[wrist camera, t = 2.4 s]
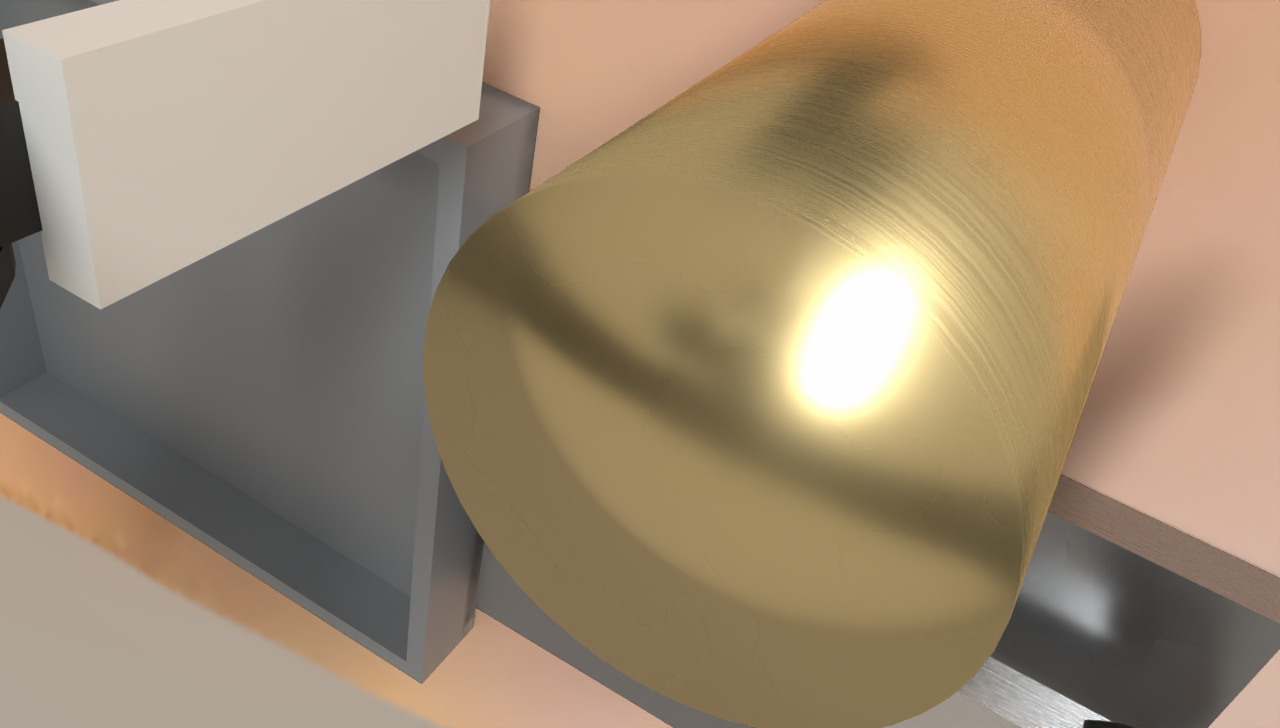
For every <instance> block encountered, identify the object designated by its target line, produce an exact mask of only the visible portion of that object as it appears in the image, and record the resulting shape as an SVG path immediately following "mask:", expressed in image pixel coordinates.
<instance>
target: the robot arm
mask: <svg viewBox="0 0 1280 728" xmlns="http://www.w3.org/2000/svg"><path fill="white" fill-rule="evenodd" d="M489 8H490V0H118V1H114V2H110V3H106V4H102V5H99V6H95V7H91V8H87V9H83V10H79V11H75V12H71V13H67V14H63V15H59V16H55V17H52V18H48V19H44V20H40V21H36V22H32V23H28V24H24V25H20V26H16V27H12V28H8V29H5V30H2V33H3V38H2V39H0V309H1V307H2V304H3V302H4V300H5V298H6V295H7V293H8V291H9V289H10V286H11V284H12V282H13V280H14V277H15V270H16V261H15V256H14V251H13V247H12V243H13V242H15V241H18V240H20V239H23V238H25V237H27V236H30V235H32V234H35V233H37V232H39V231H40V233H41V238H42V244H43V249H44V254H45V259H46V265H47V270H48V275H49V280H51V281H52V282H54V283H56V284H57V285H59V286H61V287H63V288H64V289H66V290H68V291H69V292H71V293H73V294H75V295H76V296H78V297H80V298H82V299H83V300H85V301H87V302H88V303H90V304H92V305H94V306H95V307H97V308H99V309H100V310H101V309H103V308H105V307H107V306H109V305H111V304H113V303H115V302H117V301H119V300H121V299H123V298H125V297H127V296H129V295H131V294H133V293H135V292H137V291H139V290H140V289H142V288H144V287H146V286H148V285H150V284H152V283H154V282H156V281H158V280H160V279H162V278H164V277H166V276H168V275H170V274H172V273H174V272H176V271H178V270H180V269H182V268H184V267H186V266H188V265H190V264H192V263H194V262H196V261H198V260H200V259H202V258H204V257H206V256H208V255H210V254H212V253H214V252H216V251H218V250H220V249H222V248H224V247H226V246H228V245H230V244H232V243H234V242H236V241H238V240H240V239H242V238H244V237H246V236H248V235H250V234H252V233H254V232H256V231H258V230H260V229H262V228H264V227H266V226H268V225H270V224H272V223H274V222H276V221H278V220H280V219H282V218H284V217H286V216H288V215H290V214H292V213H294V212H296V211H297V210H299V209H301V208H303V207H305V206H307V205H309V204H311V203H313V202H315V201H317V200H319V199H321V198H323V197H325V196H327V195H329V194H331V193H333V192H335V191H337V190H339V189H341V188H343V187H345V186H347V185H349V184H351V183H353V182H355V181H357V180H359V179H361V178H363V177H365V176H367V175H369V174H371V173H373V172H375V171H377V170H379V169H381V168H383V167H385V166H387V165H389V164H391V163H393V162H395V161H397V160H399V159H401V158H403V157H405V156H407V155H409V154H411V153H413V152H415V151H417V150H419V149H421V148H423V147H425V146H427V145H429V144H431V143H433V142H435V141H437V140H439V139H441V138H443V137H445V136H447V135H449V134H451V133H453V132H455V131H456V130H458V129H460V128H462V127H464V126H466V125H468V124H470V123H472V122H474V121H476V120H478V119H479V109H480V99H481V89H482V79H483V69H484V58H485V48H486V38H487V28H488V18H489Z"/></svg>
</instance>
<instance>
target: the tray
mask: <svg viewBox="0 0 1280 728" xmlns="http://www.w3.org/2000/svg"><path fill="white" fill-rule="evenodd" d="M114 1H118V0H0V39H2V38H3V33H2V30H5V29H8V28H12V27H16V26H20V25H24V24H28V23H32V22H36V21H40V20H44V19H48V18H52V17H55V16H59V15H63V14H67V13H71V12H75V11H79V10H83V9H87V8H91V7H95V6H99V5H102V4H106V3H110V2H114ZM539 111H540V107H538V106H535V105H533V104H531V103H528V102H526V101H524V100H521V99H519V98H517V97H514V96H512V95H510V94H507V93H505V92H503V91H501V90H498V89H496V88H494V87H491V86H489V85H487V84H484V83H482V89H481V99H480V109H479V119H478V120H476V121H474V122H472V123H470V124H468V125H466V126H464V127H462V128H460V129H458V130H456V131H455V132H453V133H451V134H449V135H447V136H445V137H443V138H441V139H439V140H437V141H435V142H433V143H431V144H429V145H427V146H425V147H423V148H421V149H419V150H417V151H415V152H413V153H411V154H409V155H407V156H405V157H403V158H401V159H399V160H397V161H395V162H393V163H391V164H389V165H387V166H385V167H383V168H381V169H379V170H377V171H375V172H373V173H371V174H369V175H367V176H365V177H363V178H361V179H359V180H357V181H355V182H353V183H351V184H349V185H347V186H345V187H343V188H341V189H339V190H337V191H335V192H333V193H331V194H329V195H327V196H325V197H323V198H321V199H319V200H317V201H315V202H313V203H311V204H309V205H307V206H305V207H303V208H301V209H299V210H297V211H296V212H294V213H292V214H290V215H288V216H286V217H284V218H282V219H280V220H278V221H276V222H274V223H272V224H270V225H268V226H266V227H264V228H262V229H260V230H258V231H256V232H254V233H252V234H250V235H248V236H246V237H244V238H242V239H240V240H238V241H236V242H234V243H232V244H230V245H228V246H226V247H224V248H222V249H220V250H218V251H216V252H214V253H212V254H210V255H208V256H206V257H204V258H202V259H200V260H198V261H196V262H194V263H192V264H190V265H188V266H186V267H184V268H182V269H180V270H178V271H176V272H174V273H172V274H170V275H168V276H166V277H164V278H162V279H160V280H158V281H156V282H154V283H152V284H150V285H148V286H146V287H144V288H142V289H140V290H139V291H137V292H135V293H133V294H131V295H129V296H127V297H125V298H123V299H121V300H119V301H117V302H115V303H113V304H111V305H109V306H107V307H105V308H103V309H101V310H100V309H99V308H97V307H95V306H94V305H92V304H90V303H88V302H87V301H85V300H83V299H82V298H80V297H78V296H76V295H75V294H73V293H71V292H69V291H68V290H66V289H64V288H63V287H61V286H59V285H57V284H56V283H54V282H52V281H51V280H49V275H48V270H47V265H46V259H45V254H44V249H43V244H42V238H41V233H40V231H39V232H37V233H35V234H32V235H30V236H27V237H25V238H23V239H20V240H18V241H15V242H13V243H12V247H13V251H14V256H15V261H16V270H15V277H14V280H13V282H12V284H11V286H10V289H9V291H8V293H7V295H6V298H5V300H4V302H3V304H2V307H1V309H0V413H2V414H3V415H5V416H6V417H8V418H9V419H11V420H13V421H14V422H16V423H17V424H19V425H20V426H22V427H23V428H25V429H26V430H28V431H30V432H31V433H33V434H34V435H36V436H37V437H39V438H40V439H42V440H44V441H45V442H47V443H48V444H50V445H51V446H53V447H54V448H56V449H58V450H59V451H61V452H62V453H64V454H65V455H67V456H68V457H70V458H72V459H73V460H75V461H76V462H78V463H79V464H81V465H82V466H84V467H85V468H87V469H89V470H90V471H92V472H93V473H95V474H96V475H98V476H99V477H101V478H103V479H104V480H106V481H107V482H109V483H110V484H112V485H113V486H115V487H117V488H118V489H120V490H121V491H123V492H124V493H126V494H127V495H129V496H131V497H132V498H134V499H135V500H137V501H138V502H140V503H141V504H143V505H144V506H146V507H148V508H149V509H151V510H152V511H154V512H155V513H157V514H158V515H160V516H162V517H163V518H165V519H166V520H168V521H169V522H171V523H172V524H174V525H176V526H177V527H179V528H180V529H182V530H183V531H185V532H186V533H188V534H190V535H191V536H193V537H194V538H196V539H197V540H199V541H200V542H202V543H204V544H205V545H207V546H208V547H210V548H211V549H213V550H214V551H216V552H217V553H219V554H221V555H222V556H224V557H225V558H227V559H228V560H230V561H231V562H233V563H235V564H236V565H238V566H239V567H241V568H242V569H244V570H245V571H247V572H249V573H250V574H252V575H253V576H255V577H256V578H258V579H259V580H261V581H263V582H264V583H266V584H267V585H269V586H270V587H272V588H273V589H275V590H276V591H278V592H280V593H281V594H283V595H284V596H286V597H287V598H289V599H290V600H292V601H294V602H295V603H297V604H298V605H300V606H301V607H303V608H304V609H306V610H308V611H309V612H311V613H312V614H314V615H315V616H317V617H318V618H320V619H322V620H323V621H325V622H326V623H328V624H329V625H331V626H332V627H334V628H335V629H337V630H339V631H340V632H342V633H343V634H345V635H346V636H348V637H349V638H351V639H353V640H354V641H356V642H357V643H359V644H360V645H362V646H363V647H365V648H367V649H368V650H370V651H371V652H373V653H374V654H376V655H377V656H379V657H381V658H382V659H384V660H385V661H387V662H388V663H390V664H391V665H393V666H394V667H396V668H398V669H399V670H401V671H402V672H404V673H405V674H407V675H408V676H410V677H412V678H413V679H415V680H416V681H418V682H419V683H421V684H422V683H423V682H424V681H425V680H426V679H427V678H428V677H429V676H430V674H431V673H432V672H433V671H434V670H435V669H436V668H437V667H438V666H439V664H440V663H441V662H442V661H443V660H444V659H445V658H446V657H447V656H448V655H449V653H450V652H451V651H452V650H453V649H454V648H455V647H456V646H457V645H458V643H459V642H460V641H461V640H462V639H463V638H464V637H465V636H466V635H467V634H468V632H469V631H470V630H471V629H472V628H473V623H474V615H475V608H476V599H477V591H478V584H479V576H480V568H481V560H482V553H483V545H484V540H483V539H482V537H481V536H480V535H479V533H478V532H477V530H476V528H475V527H474V525H473V523H472V521H471V520H470V518H469V516H468V515H467V513H466V511H465V509H464V508H463V506H462V504H461V503H460V501H459V498H458V496H457V494H456V492H455V490H454V488H453V486H452V484H451V481H450V479H449V477H448V475H447V473H446V470H445V468H444V465H443V462H442V459H441V456H440V454H439V451H438V448H437V445H436V443H435V439H434V435H433V431H432V427H431V423H430V419H429V415H428V411H427V403H426V395H425V388H424V380H423V347H424V340H425V333H426V325H427V318H428V315H429V312H430V308H431V305H432V302H433V298H434V295H435V292H436V289H437V287H438V285H439V283H440V281H441V279H442V277H443V275H444V273H445V271H446V269H447V267H448V265H449V263H450V261H451V260H452V259H453V257H454V256H455V255H456V253H457V252H458V251H459V249H460V248H461V247H462V245H463V244H464V242H465V241H466V240H467V239H468V238H469V237H470V236H471V235H472V234H473V233H474V232H475V231H476V230H477V229H478V228H479V227H480V226H481V225H483V224H484V223H485V222H486V221H487V220H488V219H489V218H490V217H492V216H493V215H495V214H496V213H498V212H499V211H501V210H502V209H504V208H506V207H507V206H509V205H510V204H512V203H513V202H515V201H516V200H518V199H519V198H521V197H523V196H524V195H526V194H527V193H529V189H530V181H531V173H532V165H533V157H534V150H535V142H536V134H537V126H538V119H539Z"/></svg>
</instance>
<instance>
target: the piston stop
mask: <svg viewBox="0 0 1280 728" xmlns="http://www.w3.org/2000/svg"><path fill="white" fill-rule="evenodd" d="M1200 58H1201V29H1200V22H1199V15H1198V10H1197V6H1196V3H1195V0H826V1H825V2H823V3H821V4H820V5H818V6H817V7H815V8H814V9H812V10H811V11H809V12H808V13H806V14H804V15H803V16H801V17H800V18H798V19H797V20H795V21H794V22H792V23H791V24H789V25H787V26H786V27H784V28H783V29H781V30H780V31H778V32H777V33H775V34H773V35H772V36H770V37H769V38H767V39H766V40H764V41H763V42H761V43H760V44H758V45H756V46H755V47H753V48H752V49H750V50H749V51H747V52H746V53H744V54H742V55H741V56H739V57H738V58H736V59H735V60H733V61H732V62H730V63H729V64H727V65H725V66H724V67H722V68H721V69H719V70H718V71H716V72H715V73H713V74H712V75H710V76H708V77H707V78H705V79H704V80H702V81H701V82H699V83H698V84H696V85H694V86H693V87H691V88H690V89H688V90H687V91H685V92H684V93H682V94H681V95H679V96H677V97H676V98H674V99H673V100H671V101H670V102H668V103H667V104H665V105H664V106H662V107H660V108H659V109H657V110H656V111H654V112H653V113H651V114H650V115H648V116H646V117H645V118H643V119H642V120H640V121H639V122H637V123H636V124H634V125H633V126H631V127H629V128H628V129H626V130H625V131H623V132H622V133H620V134H619V135H617V136H615V137H614V138H612V139H611V140H609V141H608V142H606V143H605V144H603V145H602V146H600V147H598V148H597V149H595V150H594V151H592V152H591V153H589V154H588V155H586V156H585V157H583V158H581V159H580V160H578V161H577V162H575V163H574V164H572V165H571V166H569V167H567V168H566V169H564V170H563V171H561V172H560V173H558V174H557V175H555V176H554V177H552V178H550V179H549V180H547V181H546V182H544V183H543V184H541V185H540V186H538V187H536V188H535V189H533V190H532V191H530V192H529V193H527V194H526V195H524V196H523V197H521V198H519V199H518V200H516V201H515V202H513V203H512V204H510V205H509V206H507V207H506V208H504V209H502V210H501V211H499V212H498V213H496V214H495V215H493V216H492V217H490V218H489V219H488V220H487V221H486V222H485V223H484V224H483V225H481V226H480V227H479V228H478V229H477V230H476V231H475V232H474V233H473V234H472V235H471V236H470V237H469V238H468V239H467V240H466V241H465V242H464V244H463V245H462V247H461V248H460V249H459V251H458V252H457V253H456V255H455V256H454V257H453V259H452V260H451V261H450V263H449V265H448V267H447V269H446V271H445V273H444V275H443V277H442V279H441V281H440V283H439V285H438V287H437V289H436V292H435V295H434V298H433V302H432V305H431V308H430V312H429V315H428V318H427V325H426V333H425V340H424V347H423V380H424V388H425V395H426V403H427V411H428V415H429V419H430V423H431V427H432V431H433V435H434V439H435V443H436V445H437V448H438V451H439V454H440V456H441V459H442V462H443V465H444V468H445V470H446V473H447V475H448V477H449V479H450V481H451V484H452V486H453V488H454V490H455V492H456V494H457V496H458V498H459V501H460V503H461V504H462V506H463V508H464V509H465V511H466V513H467V515H468V516H469V518H470V520H471V521H472V523H473V525H474V527H475V528H476V530H477V532H478V533H479V535H480V536H481V537H482V539H483V540H484V542H485V543H486V545H487V546H488V547H489V549H490V550H491V552H492V553H493V555H494V556H495V557H496V559H497V560H498V561H499V563H500V564H501V565H502V566H503V567H504V569H505V570H506V571H507V572H508V573H509V575H510V576H511V577H512V578H513V580H514V581H515V582H516V583H517V584H518V586H519V587H520V588H521V589H522V590H523V591H524V592H525V593H526V594H527V595H528V596H529V597H530V598H531V599H532V600H533V601H534V602H535V603H536V604H537V605H538V606H539V608H540V609H541V610H542V611H543V612H544V613H545V614H547V615H548V616H549V617H550V618H551V619H552V620H553V621H554V622H556V623H557V624H558V625H559V626H560V627H561V628H562V629H563V630H565V631H566V632H567V633H568V634H569V635H570V636H571V637H573V638H574V639H575V640H577V641H578V642H579V643H581V644H582V645H583V646H584V647H586V648H587V649H588V650H590V651H591V652H592V653H594V654H595V655H596V656H598V657H599V658H600V659H602V660H603V661H605V662H607V663H608V664H610V665H611V666H613V667H614V668H616V669H617V670H619V671H620V672H622V673H623V674H625V675H626V676H628V677H630V678H632V679H633V680H635V681H637V682H639V683H641V684H643V685H644V686H646V687H648V688H650V689H652V690H653V691H655V692H657V693H659V694H661V695H663V696H666V697H668V698H670V699H672V700H674V701H677V702H679V703H681V704H683V705H686V706H688V707H690V708H692V709H695V710H698V711H701V712H704V713H707V714H710V715H712V716H715V717H718V718H721V719H724V720H727V721H731V722H735V723H739V724H743V725H747V726H751V727H755V728H882V727H886V726H891V725H894V724H897V723H899V722H902V721H905V720H907V719H910V718H913V717H915V716H918V715H920V714H923V713H924V712H926V711H928V710H930V709H931V708H933V707H935V706H936V705H938V704H940V703H942V702H943V701H945V700H947V699H948V698H950V697H951V696H952V695H953V694H955V693H956V692H957V691H958V690H959V689H960V688H962V687H963V686H964V685H965V684H966V683H967V682H968V681H970V680H971V679H972V678H973V677H974V676H975V675H976V674H977V672H978V671H979V670H980V668H981V667H982V666H983V665H984V663H985V662H986V661H987V660H988V658H989V657H990V656H991V654H992V653H993V652H994V650H995V648H996V646H997V644H998V642H999V640H1000V638H1001V636H1002V634H1003V633H1004V631H1005V629H1006V627H1007V625H1008V623H1009V621H1010V618H1011V615H1012V612H1013V609H1014V606H1015V603H1016V600H1017V598H1018V595H1019V592H1020V589H1021V586H1022V583H1023V580H1024V577H1025V575H1026V572H1027V569H1028V566H1029V563H1030V560H1031V557H1032V554H1033V552H1034V549H1035V546H1036V543H1037V540H1038V537H1039V534H1040V531H1041V529H1042V526H1043V523H1044V520H1045V517H1046V514H1047V511H1048V508H1049V506H1050V503H1051V500H1052V497H1053V494H1054V491H1055V488H1056V485H1057V483H1058V480H1059V477H1060V474H1061V471H1062V468H1063V465H1064V462H1065V460H1066V457H1067V454H1068V451H1069V448H1070V445H1071V442H1072V440H1073V437H1074V434H1075V431H1076V428H1077V425H1078V422H1079V419H1080V417H1081V414H1082V411H1083V408H1084V405H1085V402H1086V399H1087V396H1088V394H1089V391H1090V388H1091V385H1092V382H1093V379H1094V376H1095V373H1096V371H1097V368H1098V365H1099V362H1100V359H1101V356H1102V353H1103V350H1104V348H1105V345H1106V342H1107V339H1108V336H1109V333H1110V330H1111V327H1112V325H1113V322H1114V319H1115V316H1116V313H1117V310H1118V307H1119V304H1120V302H1121V299H1122V296H1123V293H1124V290H1125V287H1126V284H1127V281H1128V279H1129V276H1130V273H1131V270H1132V267H1133V264H1134V261H1135V259H1136V256H1137V253H1138V250H1139V247H1140V244H1141V241H1142V238H1143V236H1144V233H1145V230H1146V227H1147V224H1148V221H1149V218H1150V215H1151V213H1152V210H1153V207H1154V204H1155V201H1156V198H1157V195H1158V192H1159V190H1160V187H1161V184H1162V181H1163V178H1164V175H1165V172H1166V169H1167V167H1168V164H1169V161H1170V158H1171V155H1172V152H1173V149H1174V146H1175V144H1176V141H1177V138H1178V135H1179V132H1180V129H1181V126H1182V123H1183V121H1184V118H1185V115H1186V112H1187V109H1188V106H1189V103H1190V100H1191V97H1192V94H1193V91H1194V87H1195V84H1196V81H1197V77H1198V71H1199V64H1200Z"/></svg>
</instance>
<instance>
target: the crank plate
mask: <svg viewBox="0 0 1280 728" xmlns="http://www.w3.org/2000/svg"><path fill="white" fill-rule="evenodd" d="M476 608H477V609H479V610H481V611H482V612H484V613H486V614H487V615H489V616H490V617H492V618H494V619H495V620H497V621H499V622H500V623H502V624H504V625H505V626H507V627H509V628H510V629H512V630H514V631H515V632H517V633H518V634H520V635H522V636H523V637H525V638H527V639H528V640H530V641H532V642H533V643H535V644H537V645H538V646H540V647H542V648H543V649H545V650H546V651H548V652H550V653H551V654H553V655H555V656H556V657H558V658H560V659H561V660H563V661H565V662H566V663H568V664H570V665H571V666H573V667H574V668H576V669H578V670H579V671H581V672H583V673H584V674H586V675H588V676H589V677H591V678H593V679H594V680H596V681H598V682H599V683H601V684H602V685H604V686H606V687H607V688H609V689H611V690H612V691H614V692H616V693H617V694H619V695H621V696H622V697H624V698H626V699H627V700H629V701H630V702H632V703H634V704H635V705H637V706H639V707H640V708H642V709H644V710H645V711H647V712H649V713H650V714H652V715H654V716H655V717H657V718H658V719H660V720H662V721H663V722H665V723H667V724H668V725H670V726H672V727H673V728H755V727H751V726H747V725H743V724H739V723H735V722H731V721H727V720H724V719H721V718H718V717H715V716H712V715H710V714H707V713H704V712H701V711H698V710H695V709H692V708H690V707H688V706H686V705H683V704H681V703H679V702H677V701H674V700H672V699H670V698H668V697H666V696H663V695H661V694H659V693H657V692H655V691H653V690H652V689H650V688H648V687H646V686H644V685H643V684H641V683H639V682H637V681H635V680H633V679H632V678H630V677H628V676H626V675H625V674H623V673H622V672H620V671H619V670H617V669H616V668H614V667H613V666H611V665H610V664H608V663H607V662H605V661H603V660H602V659H600V658H599V657H598V656H596V655H595V654H594V653H592V652H591V651H590V650H588V649H587V648H586V647H584V646H583V645H582V644H581V643H579V642H578V641H577V640H575V639H574V638H573V637H571V636H570V635H569V634H568V633H567V632H566V631H565V630H563V629H562V628H561V627H560V626H559V625H558V624H557V623H556V622H554V621H553V620H552V619H551V618H550V617H549V616H548V615H547V614H545V613H544V612H543V611H542V610H541V609H540V608H539V606H538V605H537V604H536V603H535V602H534V601H533V600H532V599H531V598H530V597H529V596H528V595H527V594H526V593H525V592H524V591H523V590H522V589H521V588H520V587H519V586H518V584H517V583H516V582H515V581H514V580H513V578H512V577H511V576H510V575H509V573H508V572H507V571H506V570H505V569H504V567H503V566H502V565H501V564H500V563H499V561H498V560H497V559H496V557H495V556H494V555H493V553H492V552H491V550H490V549H489V547H488V546H487V545H486V543H485V542H484V545H483V553H482V560H481V568H480V576H479V584H478V591H477V599H476ZM1279 649H1280V578H1278V577H1276V576H1274V575H1272V574H1270V573H1268V572H1266V571H1263V570H1261V569H1259V568H1257V567H1255V566H1253V565H1251V564H1249V563H1246V562H1244V561H1242V560H1240V559H1238V558H1236V557H1234V556H1232V555H1230V554H1227V553H1225V552H1223V551H1221V550H1219V549H1217V548H1215V547H1213V546H1210V545H1208V544H1206V543H1204V542H1202V541H1200V540H1198V539H1196V538H1193V537H1191V536H1189V535H1187V534H1185V533H1183V532H1181V531H1179V530H1177V529H1174V528H1172V527H1170V526H1168V525H1166V524H1164V523H1162V522H1160V521H1157V520H1155V519H1153V518H1151V517H1149V516H1147V515H1145V514H1143V513H1141V512H1138V511H1136V510H1134V509H1132V508H1130V507H1128V506H1126V505H1124V504H1121V503H1119V502H1117V501H1115V500H1113V499H1111V498H1109V497H1107V496H1104V495H1102V494H1100V493H1098V492H1096V491H1094V490H1092V489H1090V488H1088V487H1085V486H1083V485H1081V484H1079V483H1077V482H1075V481H1073V480H1071V479H1068V478H1066V477H1064V476H1062V475H1060V477H1059V480H1058V483H1057V485H1056V488H1055V491H1054V494H1053V497H1052V500H1051V503H1050V506H1049V508H1048V511H1047V514H1046V517H1045V520H1044V523H1043V526H1042V529H1041V531H1040V534H1039V537H1038V540H1037V543H1036V546H1035V549H1034V552H1033V554H1032V557H1031V560H1030V563H1029V566H1028V569H1027V572H1026V575H1025V577H1024V580H1023V583H1022V586H1021V589H1020V592H1019V595H1018V598H1017V600H1016V603H1015V606H1014V609H1013V612H1012V615H1011V618H1010V621H1009V623H1008V625H1007V627H1006V629H1005V631H1004V633H1003V634H1002V636H1001V638H1000V640H999V642H998V644H997V646H996V648H995V650H994V652H993V653H992V654H991V656H990V657H992V658H994V659H995V660H997V661H999V662H1001V663H1003V664H1005V665H1007V666H1009V667H1010V668H1012V669H1014V670H1016V671H1018V672H1020V673H1022V674H1024V675H1025V676H1027V677H1029V678H1031V679H1033V680H1035V681H1037V682H1039V683H1040V684H1042V685H1044V686H1046V687H1048V688H1050V689H1052V690H1054V691H1055V692H1057V693H1059V694H1061V695H1063V696H1065V697H1067V698H1069V699H1070V700H1072V701H1074V702H1076V703H1078V704H1080V705H1082V706H1084V707H1085V708H1087V709H1089V710H1091V711H1093V712H1095V713H1097V714H1099V715H1101V716H1102V717H1104V718H1106V719H1108V720H1110V721H1112V722H1116V723H1121V724H1125V725H1128V726H1132V727H1135V728H1208V727H1209V726H1210V725H1211V724H1212V723H1213V721H1214V720H1215V719H1216V718H1217V717H1218V716H1219V715H1220V714H1221V713H1222V712H1223V711H1224V709H1225V708H1226V707H1227V706H1228V705H1229V704H1230V703H1231V702H1232V701H1233V700H1234V698H1235V697H1236V696H1237V695H1238V694H1239V693H1240V692H1241V691H1242V690H1243V689H1244V688H1245V686H1246V685H1247V684H1248V683H1249V682H1250V681H1251V680H1252V679H1253V678H1254V677H1255V676H1256V674H1257V673H1258V672H1259V671H1260V670H1261V669H1262V668H1263V667H1264V666H1265V665H1266V664H1267V662H1268V661H1269V660H1270V659H1271V658H1272V657H1273V656H1274V655H1275V654H1276V653H1277V652H1278V650H1279Z"/></svg>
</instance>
